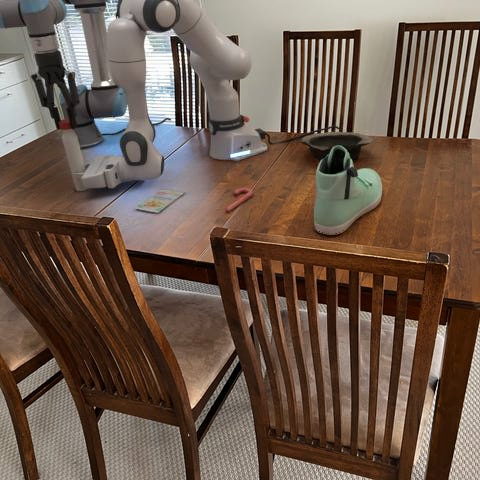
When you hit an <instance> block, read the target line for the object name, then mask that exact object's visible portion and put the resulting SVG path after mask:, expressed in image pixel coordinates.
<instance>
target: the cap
mask: <svg viewBox="0 0 480 480" xmlns="http://www.w3.org/2000/svg"><path fill="white" fill-rule="evenodd" d="M58 124H59V127H60V129H59V130H60V131H62V130H68V129H71V125H70V121H69V119H64V118H63V119H61V120H60V121H59V122H58Z"/></svg>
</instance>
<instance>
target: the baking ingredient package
mask: <svg viewBox="0 0 480 480" xmlns="http://www.w3.org/2000/svg"><path fill="white" fill-rule="evenodd" d="M183 194H184V192H182V191H177V190H176V191H175V190H169V189H164V188H161V189H159V190H158V191H157V192H155V193H154V194H153V195H151V196H150V197H148V198H147V199H145V200H144V201H142V202H141V203H140V204H138V205H137V206H135V207H134V209H135V210H140V211H146V212H151V213H156V214H157V213H160V212H161V211H162V210H164V209H165V208H167V206H169V205H170V204H172V203H173V202H175V201H176V200H177V199H178V198H179V197H181V196H182V195H183Z"/></svg>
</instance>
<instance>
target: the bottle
mask: <svg viewBox="0 0 480 480" xmlns="http://www.w3.org/2000/svg"><path fill="white" fill-rule="evenodd" d="M61 131H62V134H61V141H62V144H63V147H64V151H65V155H66V159H67V162H68V166H69V170H70V173H71V177H72V181H73V184H74V188H75V190H76V191H77V192H83V191H84V192H85V191H87V190H89V189H90V188H86V187H84V186H83V183H82V179H79V178H78V179H74V178H73V173H74V172H79V173H83V172H85V171H86V169H85V165H84V164H85V162H84V157H83V154H82V149H80V146H79V142H78V138H77V135H76V133H75V132H74V131H73V129H68V130H61Z"/></svg>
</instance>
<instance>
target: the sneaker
mask: <svg viewBox="0 0 480 480" xmlns="http://www.w3.org/2000/svg"><path fill="white" fill-rule="evenodd" d="M317 165H318V166H317V168H316V172H315V201H314V207H313V225H314V229H315V231H316V232H318V233H320V234H323V235H326V236H327V235H328V236H336V235H339V234H342V233H344V232H345V231H347V230H348V229H349V228H350V227H351V226H352V225H353V224H354V222H356V221H357V220H358V219H359V218H360V217H362V216H363V215H365V214H367V213H370V212H372V210H374V209H375V208H377V207H378V205H380V203H381V200H382V196H383V184H382V183H383V182H382V179H381V176H380V175H379V173H378V172H377V171H376V170H374V169H372V168H367V167H365V168H358V169H357V168H355V167H354V161H352V159H350V156H349V153H348V152H347V150H346V149H345V148H344V147H342V146H334V147H333V148H332V149H331V152H330V154H329V155H327V156H326V157H325V158H324V159H322V160H321V161H320V163H319V162H318V164H317ZM343 230H344V231H343ZM319 231H320V232H319ZM322 232H323V233H322ZM339 232H340V233H339ZM326 233H327V234H326ZM328 233H329V234H328ZM335 233H337V234H335Z"/></svg>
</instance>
